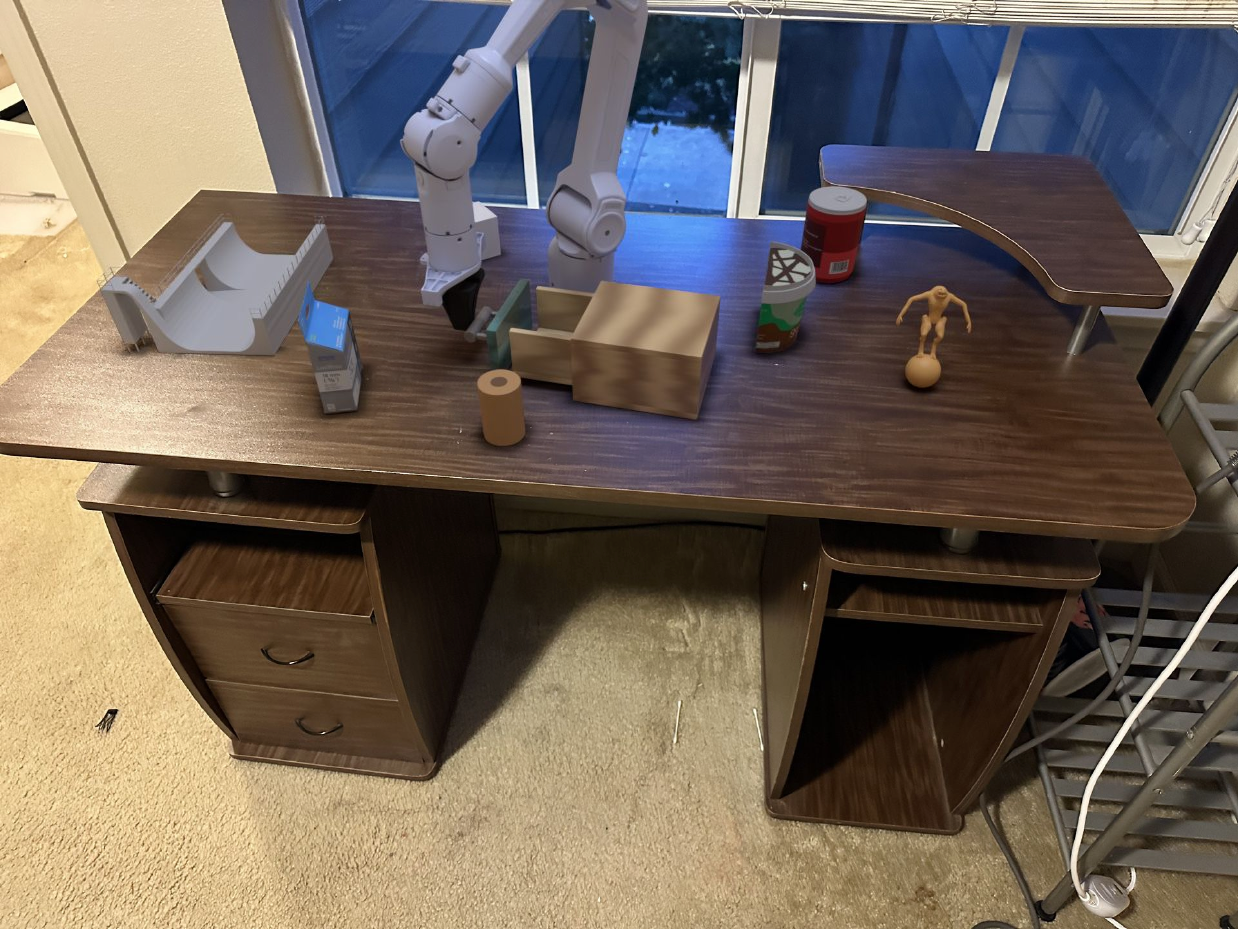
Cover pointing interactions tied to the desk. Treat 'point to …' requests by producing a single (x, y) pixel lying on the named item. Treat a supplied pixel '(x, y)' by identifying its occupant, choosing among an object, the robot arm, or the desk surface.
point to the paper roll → (501, 407)
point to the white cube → (487, 229)
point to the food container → (783, 297)
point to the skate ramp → (222, 297)
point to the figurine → (924, 366)
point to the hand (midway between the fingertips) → (463, 327)
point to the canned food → (833, 231)
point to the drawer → (532, 332)
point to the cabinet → (645, 349)
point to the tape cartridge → (332, 353)
